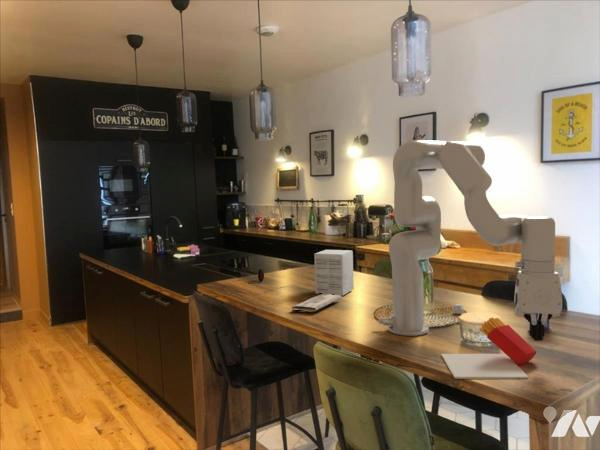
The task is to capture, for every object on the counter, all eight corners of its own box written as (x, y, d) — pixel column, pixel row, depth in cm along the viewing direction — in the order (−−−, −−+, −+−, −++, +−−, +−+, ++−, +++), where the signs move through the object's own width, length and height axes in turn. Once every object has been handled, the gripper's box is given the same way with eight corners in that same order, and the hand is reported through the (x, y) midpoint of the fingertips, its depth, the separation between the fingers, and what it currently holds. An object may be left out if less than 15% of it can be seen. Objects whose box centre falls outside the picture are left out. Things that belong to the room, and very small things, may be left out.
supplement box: (326, 287, 228) (325, 249, 227) (354, 289, 222) (353, 250, 221) (314, 293, 216) (313, 253, 215) (343, 295, 210) (342, 254, 209)
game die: (465, 314, 176) (465, 305, 176) (454, 314, 176) (454, 306, 176) (460, 311, 180) (460, 303, 180) (450, 312, 180) (450, 304, 179)
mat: (454, 378, 120) (454, 376, 120) (441, 355, 135) (441, 353, 135) (528, 378, 118) (528, 376, 118) (506, 355, 134) (506, 353, 134)
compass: (245, 284, 242) (244, 269, 241) (260, 282, 245) (260, 267, 245) (251, 286, 235) (250, 271, 234) (266, 285, 238) (266, 269, 238)
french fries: (532, 361, 130) (494, 326, 139) (540, 349, 128) (501, 314, 137) (512, 367, 125) (474, 331, 133) (521, 355, 123) (481, 319, 131)
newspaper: (314, 298, 208) (314, 292, 208) (341, 301, 202) (341, 295, 202) (286, 311, 189) (286, 305, 189) (315, 315, 183) (315, 308, 183)
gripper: (511, 269, 121) (511, 344, 122) (576, 268, 119) (575, 344, 121) (501, 264, 128) (501, 334, 130) (562, 263, 127) (561, 334, 128)
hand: (536, 339), depth 125 cm, fingers closed
